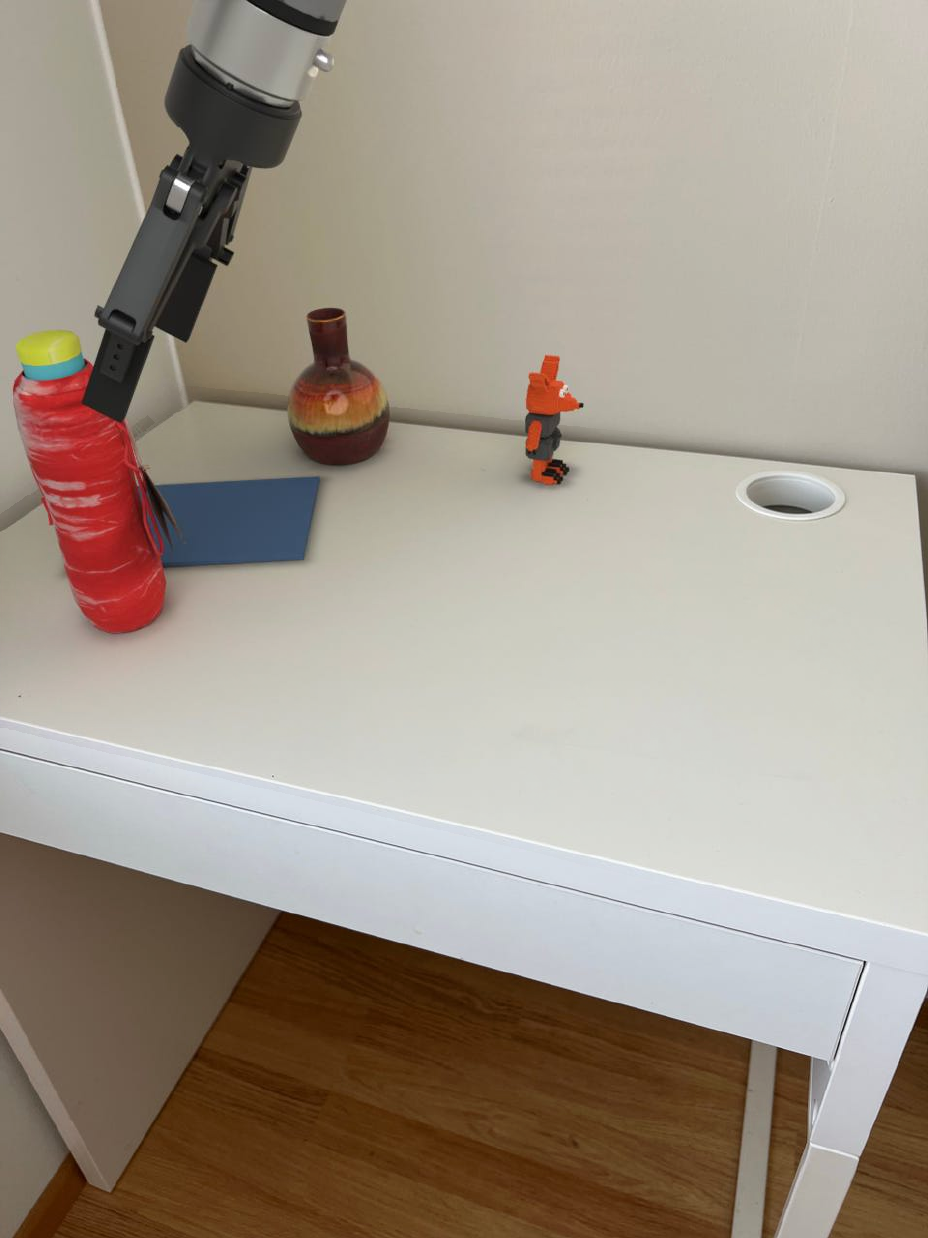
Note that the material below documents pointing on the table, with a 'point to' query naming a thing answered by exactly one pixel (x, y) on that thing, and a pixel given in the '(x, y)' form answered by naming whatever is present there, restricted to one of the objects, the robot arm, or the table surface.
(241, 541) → the blue mat
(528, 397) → the toy animal
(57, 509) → the water bottle
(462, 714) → the table surface
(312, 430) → the vase
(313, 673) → the table surface
